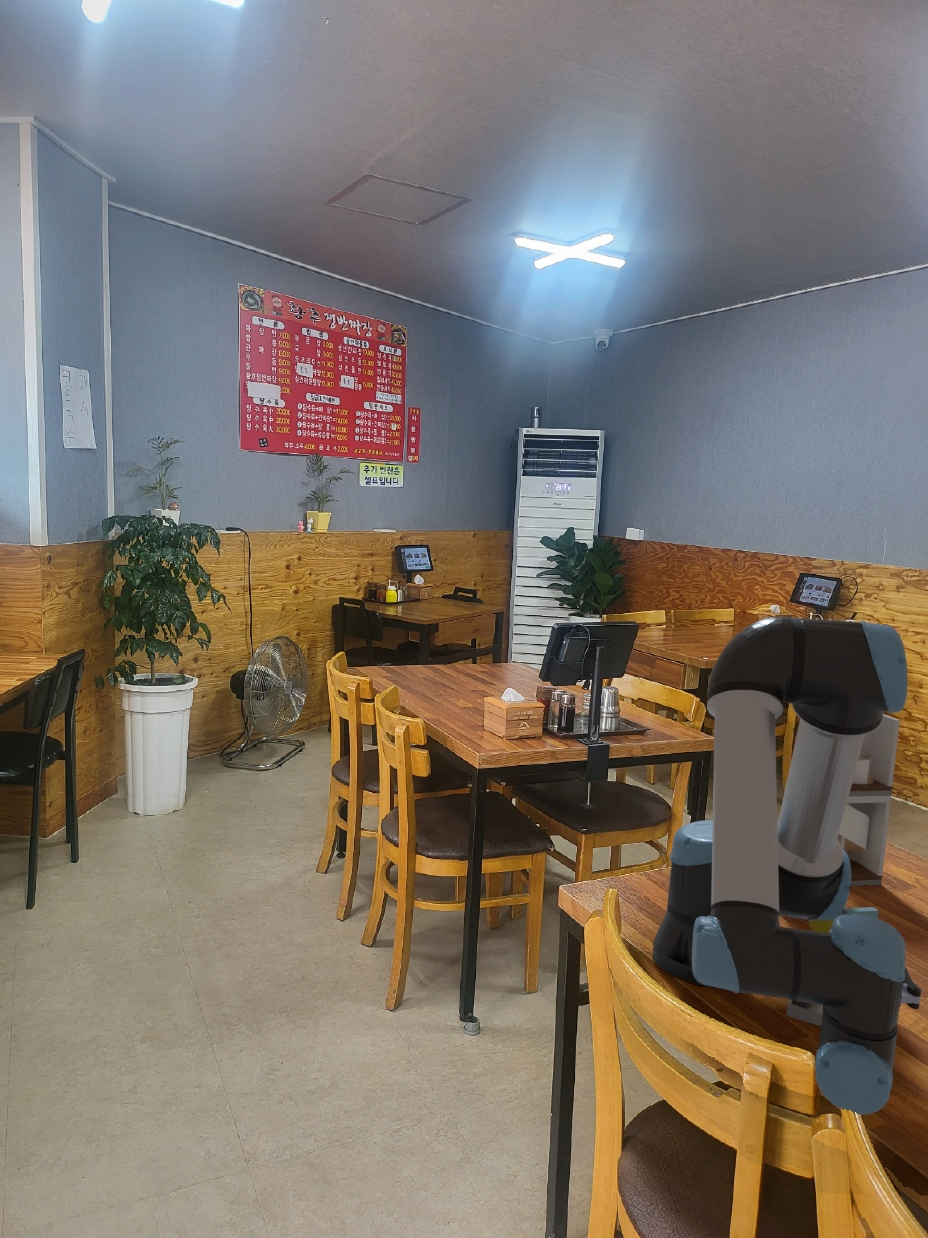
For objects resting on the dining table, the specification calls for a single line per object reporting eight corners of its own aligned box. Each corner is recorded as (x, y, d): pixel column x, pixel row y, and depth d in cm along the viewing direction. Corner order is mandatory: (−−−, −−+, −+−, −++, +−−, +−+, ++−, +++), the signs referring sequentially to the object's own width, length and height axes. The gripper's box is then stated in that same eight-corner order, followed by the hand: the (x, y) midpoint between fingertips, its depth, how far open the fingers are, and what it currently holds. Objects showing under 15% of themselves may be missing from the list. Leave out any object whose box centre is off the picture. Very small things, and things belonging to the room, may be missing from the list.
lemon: (841, 938, 151) (846, 896, 150) (837, 951, 146) (842, 907, 145) (808, 929, 154) (813, 887, 153) (803, 942, 149) (808, 899, 148)
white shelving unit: (803, 864, 184) (818, 706, 180) (846, 862, 186) (863, 707, 182) (834, 887, 173) (852, 720, 168) (881, 885, 175) (899, 720, 170)
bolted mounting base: (875, 1043, 121) (878, 1018, 120) (786, 1016, 126) (788, 992, 126) (881, 978, 138) (884, 957, 138) (803, 957, 144) (805, 936, 143)
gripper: (801, 1024, 106) (821, 942, 127) (917, 1060, 100) (919, 968, 121) (807, 969, 105) (827, 895, 126) (925, 1002, 99) (926, 919, 120)
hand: (872, 931), depth 123 cm, fingers closed
